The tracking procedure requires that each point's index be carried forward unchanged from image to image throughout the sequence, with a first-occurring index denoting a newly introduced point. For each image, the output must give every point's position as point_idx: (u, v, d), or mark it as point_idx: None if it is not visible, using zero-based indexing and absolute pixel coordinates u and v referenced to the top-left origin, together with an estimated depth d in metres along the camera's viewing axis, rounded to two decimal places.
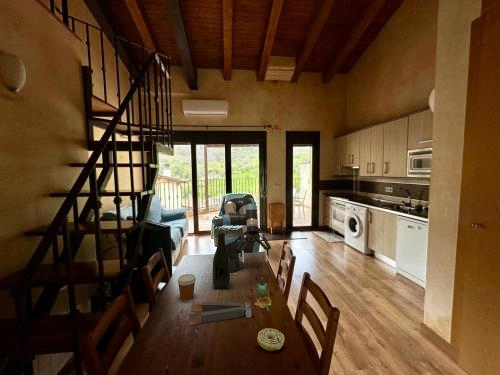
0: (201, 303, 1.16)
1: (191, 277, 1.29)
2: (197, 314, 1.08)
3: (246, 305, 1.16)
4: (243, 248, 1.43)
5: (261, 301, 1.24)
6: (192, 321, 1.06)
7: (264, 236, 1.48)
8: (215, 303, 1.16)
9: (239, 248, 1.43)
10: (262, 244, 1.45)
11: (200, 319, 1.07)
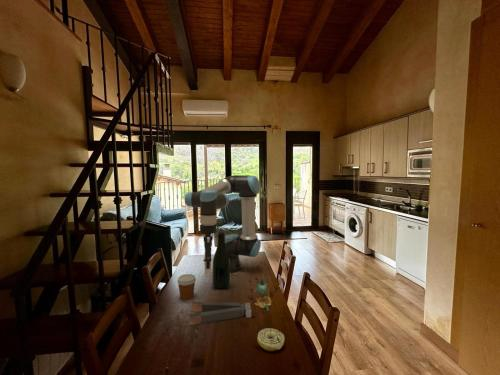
0: (201, 303, 1.16)
1: (191, 277, 1.29)
2: (197, 314, 1.08)
3: (246, 305, 1.16)
4: None
5: (261, 301, 1.24)
6: (192, 321, 1.06)
7: (205, 241, 1.05)
8: (215, 303, 1.16)
9: None
10: None
11: (200, 319, 1.07)
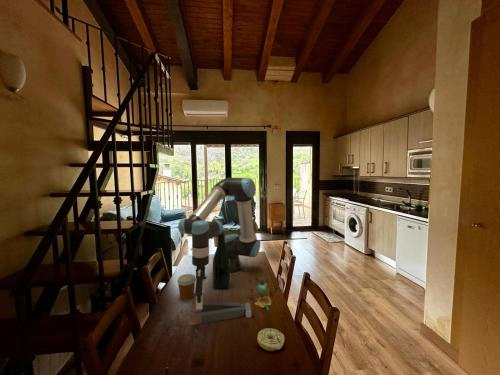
0: None
1: (191, 277, 1.29)
2: (197, 314, 1.08)
3: (246, 305, 1.16)
4: None
5: (261, 301, 1.25)
6: (192, 321, 1.06)
7: (196, 275, 1.04)
8: (215, 303, 1.16)
9: None
10: None
11: (200, 319, 1.07)
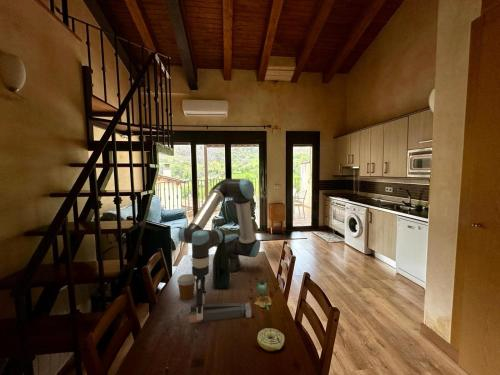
0: None
1: (191, 277, 1.29)
2: None
3: (246, 305, 1.16)
4: None
5: (261, 300, 1.25)
6: (192, 319, 1.08)
7: (196, 288, 1.05)
8: (215, 304, 1.15)
9: None
10: None
11: None
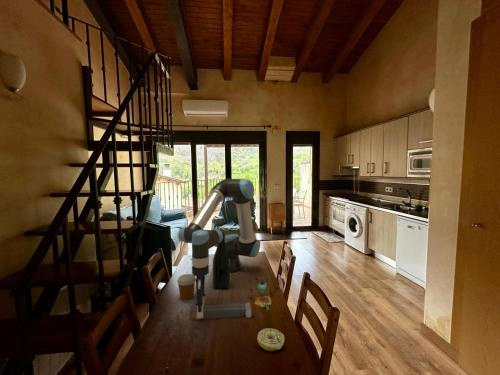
0: None
1: (191, 277, 1.29)
2: None
3: (246, 305, 1.16)
4: None
5: (261, 300, 1.25)
6: (192, 316, 1.10)
7: (196, 288, 1.05)
8: (214, 306, 1.14)
9: None
10: None
11: None
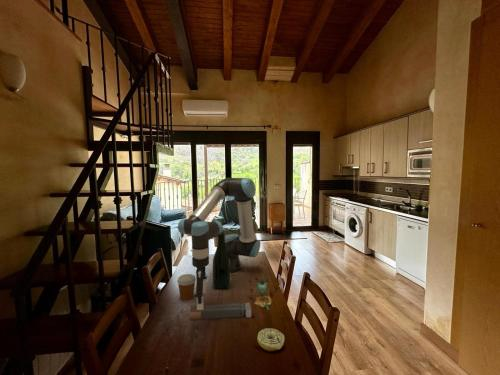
0: None
1: (191, 277, 1.29)
2: (197, 310, 1.11)
3: (246, 305, 1.16)
4: None
5: (261, 300, 1.25)
6: (192, 316, 1.10)
7: (196, 276, 1.04)
8: (214, 306, 1.14)
9: None
10: None
11: (199, 315, 1.10)
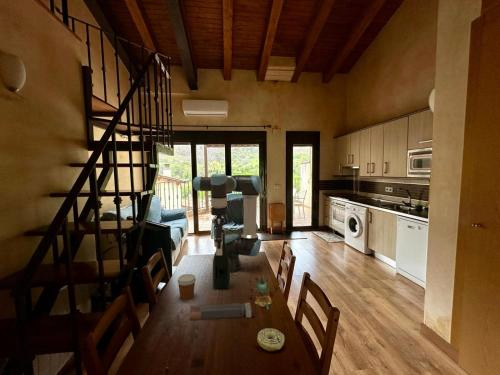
0: (200, 307, 1.13)
1: (191, 277, 1.29)
2: (197, 310, 1.11)
3: (246, 305, 1.16)
4: None
5: (261, 300, 1.25)
6: (192, 316, 1.10)
7: (216, 223, 1.10)
8: (214, 306, 1.14)
9: None
10: None
11: (199, 315, 1.10)
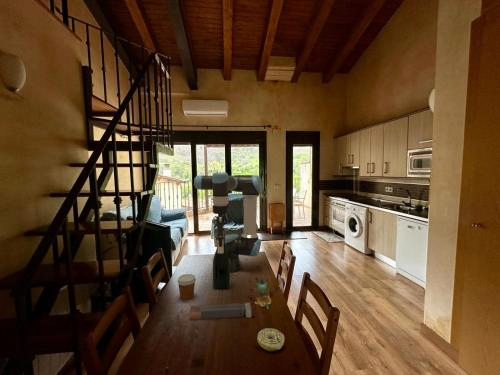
0: (200, 307, 1.13)
1: (191, 277, 1.29)
2: (197, 310, 1.11)
3: (246, 305, 1.16)
4: None
5: (261, 300, 1.26)
6: (192, 316, 1.10)
7: (217, 221, 1.10)
8: (214, 306, 1.14)
9: None
10: None
11: (199, 315, 1.10)
